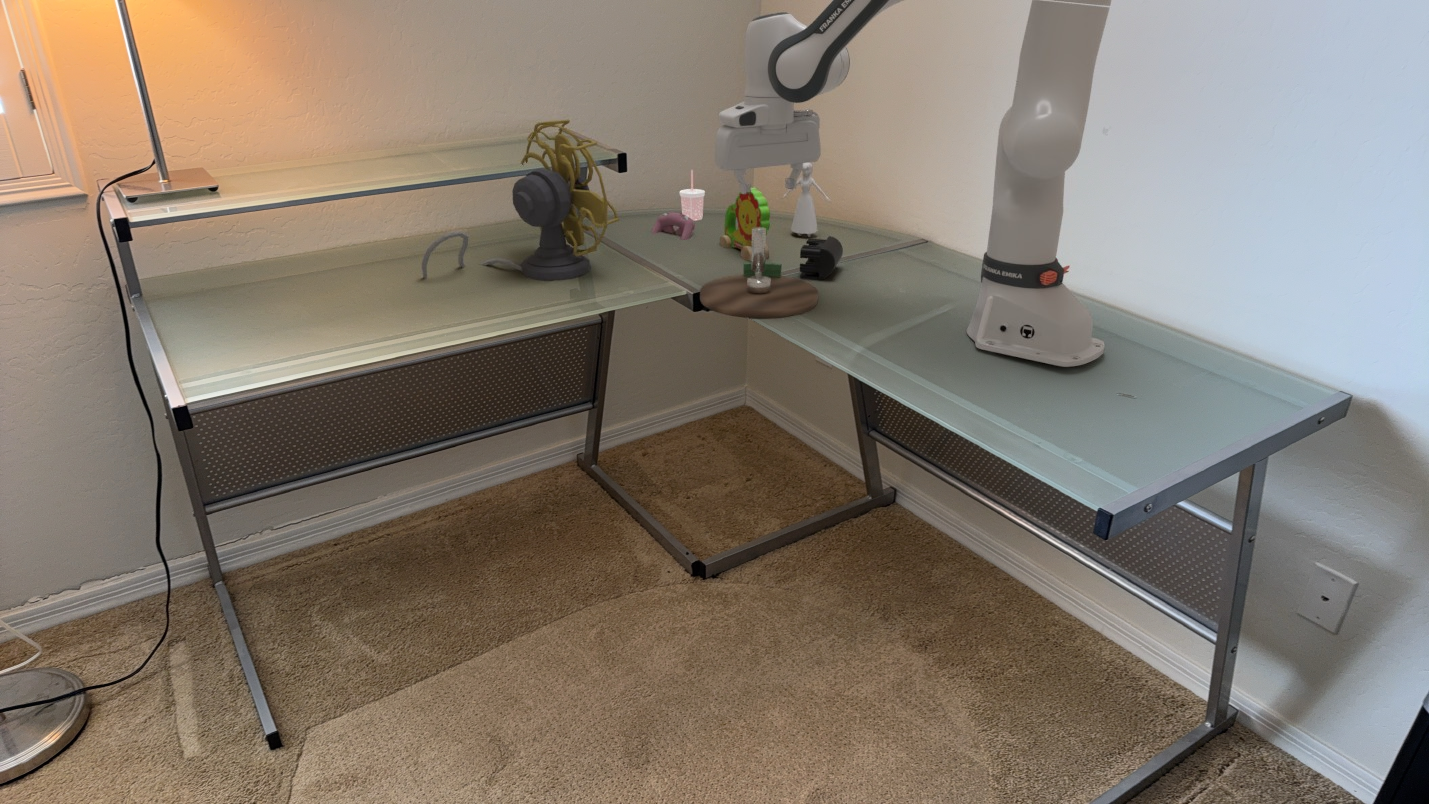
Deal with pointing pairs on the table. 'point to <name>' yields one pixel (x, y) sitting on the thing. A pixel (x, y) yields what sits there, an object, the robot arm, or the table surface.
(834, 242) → the end cap
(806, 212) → the woman figurine
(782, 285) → the dial plate
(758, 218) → the toy lion
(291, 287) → the table surface
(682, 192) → the beverage cup
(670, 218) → the video game controller
